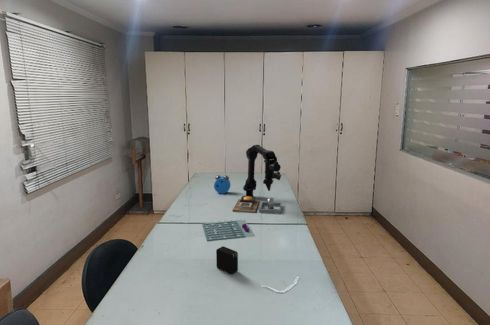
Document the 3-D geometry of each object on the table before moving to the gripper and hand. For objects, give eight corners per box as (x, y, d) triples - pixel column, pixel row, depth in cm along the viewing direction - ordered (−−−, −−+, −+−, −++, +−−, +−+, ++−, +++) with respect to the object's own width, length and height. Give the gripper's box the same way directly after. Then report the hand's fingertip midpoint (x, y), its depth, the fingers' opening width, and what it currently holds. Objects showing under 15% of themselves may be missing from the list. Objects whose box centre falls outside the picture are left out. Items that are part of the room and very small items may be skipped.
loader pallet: (238, 200, 255) (238, 195, 254) (259, 201, 252) (259, 196, 251) (232, 211, 232) (232, 205, 231) (255, 212, 229) (255, 207, 228)
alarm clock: (230, 192, 276) (230, 174, 273) (229, 194, 270) (229, 176, 267) (215, 191, 277) (214, 174, 274) (214, 193, 271) (213, 176, 268)
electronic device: (222, 264, 161) (222, 245, 159) (238, 271, 155) (237, 251, 153) (216, 268, 158) (216, 248, 156) (232, 275, 152) (231, 255, 149)
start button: (244, 199, 251) (244, 196, 251) (252, 199, 250) (252, 196, 250) (242, 202, 245) (242, 198, 245) (251, 202, 244) (251, 199, 243)
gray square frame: (261, 204, 245) (261, 201, 244) (281, 206, 243) (281, 202, 242) (258, 212, 230) (258, 209, 229) (280, 213, 227) (280, 210, 227)
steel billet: (267, 208, 239) (268, 197, 237) (273, 208, 238) (274, 197, 236) (267, 210, 234) (267, 199, 233) (273, 210, 234) (273, 199, 232)
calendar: (201, 224, 212) (201, 220, 211) (244, 219, 218) (244, 216, 218) (207, 242, 186) (206, 238, 186) (255, 237, 193) (255, 233, 192)
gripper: (279, 172, 220) (279, 194, 223) (281, 166, 238) (281, 187, 241) (263, 171, 222) (263, 194, 225) (266, 166, 240) (266, 187, 243)
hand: (269, 190), depth 234 cm, fingers closed
